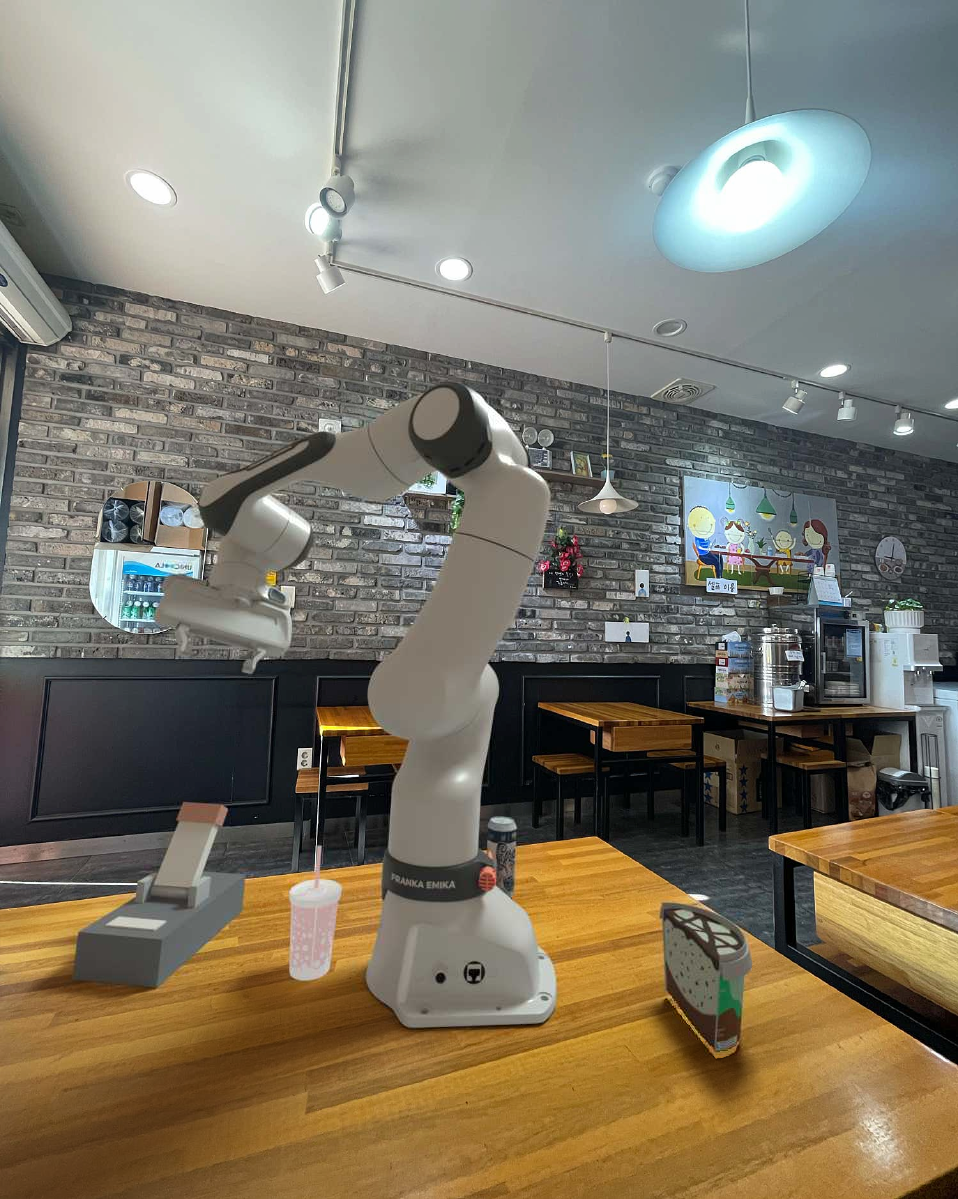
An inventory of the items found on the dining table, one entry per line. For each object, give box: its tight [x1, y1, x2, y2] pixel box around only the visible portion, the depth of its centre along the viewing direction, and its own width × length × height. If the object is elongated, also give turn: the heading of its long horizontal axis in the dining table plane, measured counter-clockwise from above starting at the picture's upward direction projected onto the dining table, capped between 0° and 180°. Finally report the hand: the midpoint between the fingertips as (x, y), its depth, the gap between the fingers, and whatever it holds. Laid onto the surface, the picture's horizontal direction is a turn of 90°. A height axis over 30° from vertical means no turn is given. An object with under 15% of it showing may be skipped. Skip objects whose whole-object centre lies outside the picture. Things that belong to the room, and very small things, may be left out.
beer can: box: [486, 816, 517, 898], centre depth 84 cm, size 5×5×12 cm
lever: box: [151, 801, 229, 899], centre depth 70 cm, size 6×2×12 cm
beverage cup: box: [288, 845, 343, 981], centre depth 63 cm, size 6×6×14 cm
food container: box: [659, 901, 753, 1052], centre depth 56 cm, size 12×6×10 cm, turn 9°
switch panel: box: [71, 870, 246, 989], centre depth 67 cm, size 10×18×8 cm, turn 176°
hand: (216, 664), depth 79 cm, fingers open, 8 cm apart
